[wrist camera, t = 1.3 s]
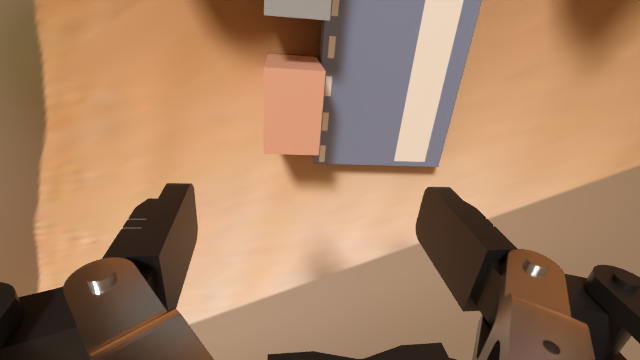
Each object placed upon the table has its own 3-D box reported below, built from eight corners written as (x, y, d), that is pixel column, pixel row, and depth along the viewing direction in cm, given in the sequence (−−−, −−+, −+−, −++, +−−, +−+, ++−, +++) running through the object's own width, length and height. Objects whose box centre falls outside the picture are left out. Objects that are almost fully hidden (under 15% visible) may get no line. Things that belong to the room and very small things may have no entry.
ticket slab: (491, -90, 25) (508, -97, 23) (429, 158, 34) (438, 167, 32) (331, -111, 23) (335, -121, 21) (312, 154, 32) (313, 163, 30)
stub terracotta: (315, 56, 28) (325, 71, 22) (311, 125, 31) (318, 155, 25) (267, 53, 28) (263, 67, 21) (267, 123, 30) (263, 153, 24)
